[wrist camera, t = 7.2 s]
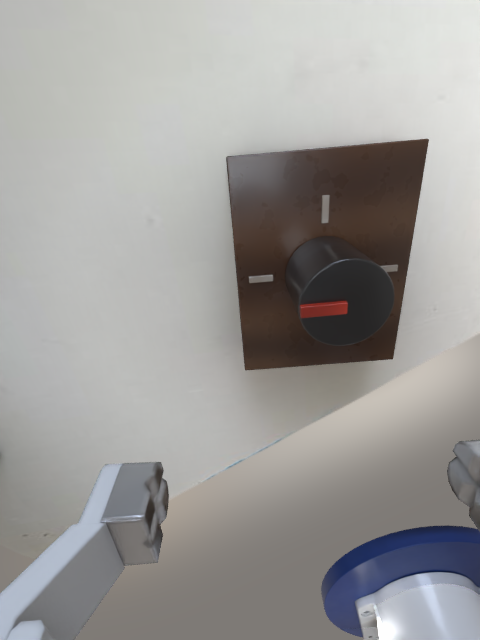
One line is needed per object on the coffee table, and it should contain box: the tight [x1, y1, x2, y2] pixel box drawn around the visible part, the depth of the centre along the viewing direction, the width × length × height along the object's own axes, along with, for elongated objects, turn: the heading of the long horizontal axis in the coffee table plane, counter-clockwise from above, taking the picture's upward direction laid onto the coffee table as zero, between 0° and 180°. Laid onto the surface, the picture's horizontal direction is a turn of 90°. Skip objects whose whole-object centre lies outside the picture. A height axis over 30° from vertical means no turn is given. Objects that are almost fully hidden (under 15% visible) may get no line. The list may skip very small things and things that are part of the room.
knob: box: [285, 236, 395, 346], centre depth 17 cm, size 4×4×5 cm
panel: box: [226, 139, 429, 370], centre depth 20 cm, size 13×10×3 cm
